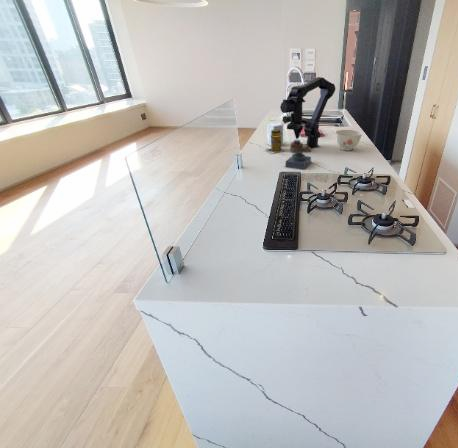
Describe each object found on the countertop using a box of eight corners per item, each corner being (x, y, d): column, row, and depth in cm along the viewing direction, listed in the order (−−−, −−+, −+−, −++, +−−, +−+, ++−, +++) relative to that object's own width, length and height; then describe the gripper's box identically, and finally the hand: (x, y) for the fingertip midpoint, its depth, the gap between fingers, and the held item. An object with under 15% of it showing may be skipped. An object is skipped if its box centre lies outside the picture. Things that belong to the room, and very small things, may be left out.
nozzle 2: (296, 154, 152) (296, 150, 151) (303, 155, 151) (303, 151, 150) (293, 156, 149) (293, 152, 148) (300, 157, 148) (301, 153, 147)
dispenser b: (306, 147, 179) (306, 140, 177) (309, 151, 172) (310, 144, 170) (290, 148, 176) (290, 141, 174) (293, 152, 170) (293, 145, 168)
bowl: (330, 150, 175) (331, 133, 170) (339, 144, 187) (340, 128, 182) (355, 154, 169) (357, 137, 164) (363, 147, 181) (365, 131, 176)
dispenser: (293, 159, 159) (293, 151, 156) (310, 162, 156) (311, 153, 153) (285, 166, 149) (285, 157, 146) (303, 169, 146) (303, 159, 144)
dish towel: (317, 128, 224) (317, 125, 222) (323, 136, 204) (324, 132, 202) (296, 129, 222) (296, 125, 220) (300, 137, 202) (300, 133, 200)
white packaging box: (274, 146, 180) (273, 126, 173) (267, 144, 184) (266, 124, 178) (283, 144, 184) (283, 124, 177) (276, 142, 188) (276, 122, 182)
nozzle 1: (299, 142, 174) (299, 139, 173) (300, 144, 171) (300, 141, 170) (293, 143, 173) (293, 139, 172) (294, 144, 170) (294, 141, 169)
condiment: (283, 151, 172) (283, 130, 166) (271, 153, 168) (270, 132, 162) (277, 148, 177) (277, 128, 171) (265, 150, 173) (264, 130, 167)
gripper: (290, 107, 172) (290, 133, 180) (277, 112, 157) (278, 141, 165) (307, 108, 169) (306, 135, 177) (296, 114, 154) (296, 143, 162)
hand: (297, 138), depth 170 cm, fingers closed
